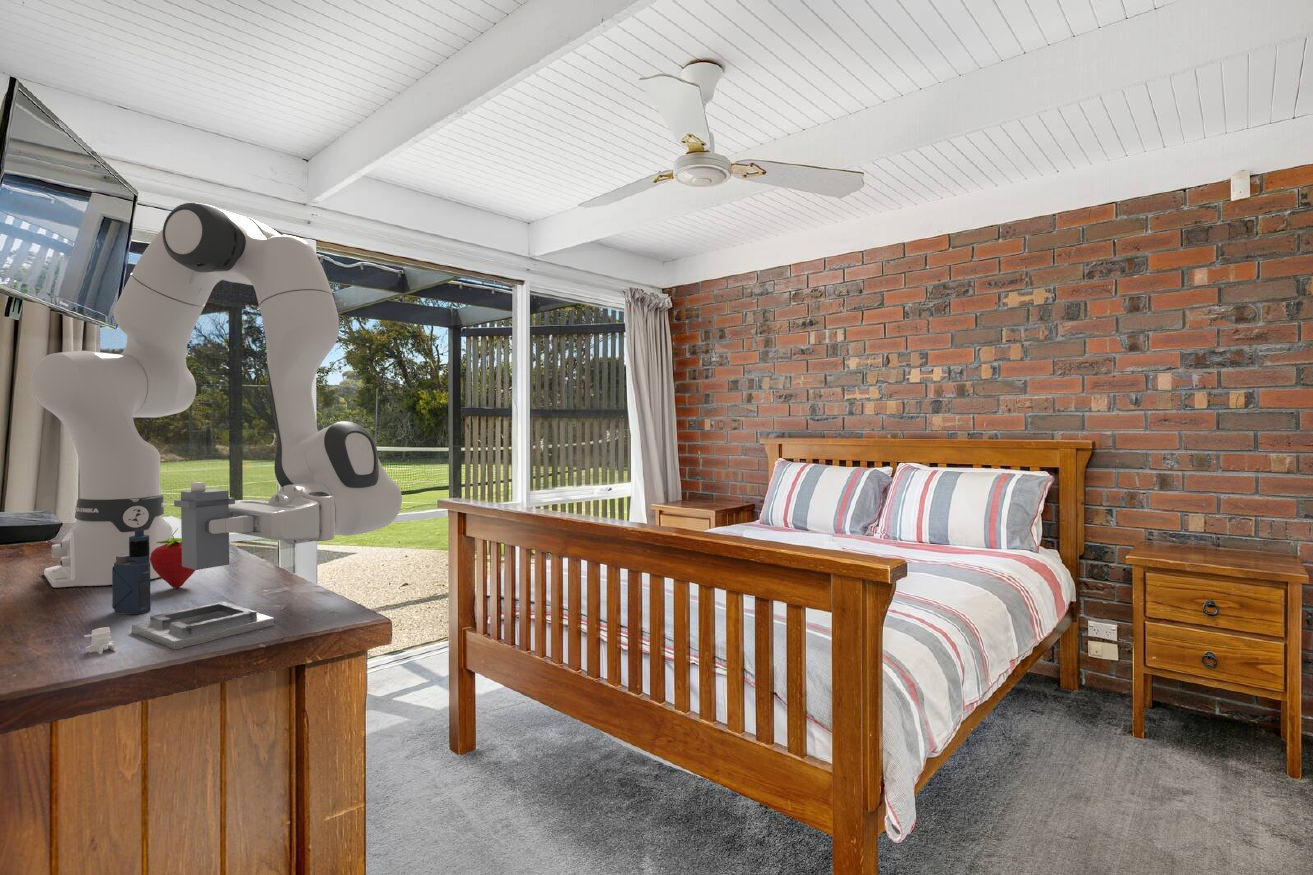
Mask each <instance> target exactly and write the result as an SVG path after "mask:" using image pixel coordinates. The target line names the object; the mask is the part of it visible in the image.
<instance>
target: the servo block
mask: <svg viewBox="0 0 1313 875" xmlns="http://www.w3.org/2000/svg"><path fill="white" fill-rule="evenodd" d="M235 500H236V498H235V497H229V490H227V489H218V488H206V481H193V482H190V490H181V491H180V499H174V500H173V507H177V508H180V516H181V517H180V520H181V521H180V526H181V531H180V532H181V534H180V536H181V539H182V567H186V568H190V569H194V570H195V571H198V570H204V569H211V568H217V567H222V566H228V565H230V533H226V532H225V533H217V534H212V533H208V532H206V530H205V528H206V525H205V522H206V521H207V520H208V519H217V518H222V519H223V518H229V505H230V504H235Z"/></svg>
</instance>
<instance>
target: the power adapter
mask: <svg viewBox="0 0 1313 875" xmlns="http://www.w3.org/2000/svg"><path fill="white" fill-rule="evenodd" d="M111 632H112V631H111V630H110V626H108V627H100V628H96V629H91V634H85V635H83V638H91V644H90V645H89V646H87V647H85V649H86V650H87V651H88V653H90V654H91V653H98V654H99V655H102V654H103V650H104V647H107V649H108V650H109V649H110V651H113V652H114V653H116V652H117V648H116V640H111V638H112V636H111Z"/></svg>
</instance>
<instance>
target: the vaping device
mask: <svg viewBox="0 0 1313 875" xmlns="http://www.w3.org/2000/svg"><path fill="white" fill-rule="evenodd" d="M111 586H112V590H111V591H112V592H111V594H112V596H111V597H112V600H111V601H112V602H111V604H112V606H111V607H112V609H113V610H114V613H115V614H123V615H139V614H144V613H147V612H150V611H151V579H150V541H149V535H144V529H137V530H135V536H130V537H129V554H124V555H118V556H116V562H115V563H114V567H113V568H112V585H111Z"/></svg>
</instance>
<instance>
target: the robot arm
mask: <svg viewBox="0 0 1313 875" xmlns="http://www.w3.org/2000/svg"><path fill="white" fill-rule="evenodd" d="M221 281H226V282H230V283H237V284H244V285H247V286H251V287H253V288H254V291H255V295H256V299H257V303H258V307H259V310H260V315H261V319H262V324H263V330H264V335H265V343H266V345H265V347H266V376H267V385H268V390H269V392H268V393H269V397H270V403H271V405H270V406H271V409H272V416H273V422H274V427H275V429H274V430H275V434H276V453H275V458H274V459H275V460H274V467H273V468H274V469H273V470H274V475H275V478H276V481H277V483H278V484H279V486H280V487H281V488H280V489H279V490H278V491H277V493H276V494H274V495H272V496H271V497H270V498H269V499H268V500H261V499H241V500H240V499H238V500H237V499H235V504H230V505H229V518H223V519H222V518H217V519H208V520H207V521H206V522H205V525H206V528H205V530H206V532H208V533H212V534H217V533H225V532H226V533H229V534H230V533H235V534H241V535H246V536H252V537H257V538H262V539H267V540H268V539H269V540H273V541H274V540H275V541H283V542H284V543H286V544H288V545H298V544H304V543H310V542H327V541H332V540H334V539H335V536H343V537H348V536H350V537H351V536H356V535H362V534H367V533H371V532H375V531H378V530H381V529H384V528H385V527H388V526H390V525H391V524H392V523H393V522H394V521H395V520H396V518H397V517H398V515H399V513H400V511H401V508H402V503H403V502H402V501H403V497H402V490H401V488H400V486H399V485H398V483H397V482H396V481H394V480H393V479H392V478H391V477H390V476H389V475H388V473H387V472H386V471H385V468H384V467H383V465H382V463H381V461H380V459H379V455H378V447H377V444H376V441H375V439H374V438H373V436H372V435H371V433H370V432H369V431H368V430H367V429H366V428H364V427H363V426H361V425H360V424H358V423H355V422H351V421H346V420H345V421H344V420H343V421H337V422H335V423H333V424H331V425H329V426H326V427H325V428H322V429H321V430H318V425H317V418H316V412H315V407H314V402H313V401H314V400H313V394H312V393H313V391H312V390H313V389H312V388H313V383H314V380H315V377H316V374H317V372H318V370H319V368H320V366H321V365H322V363H323V362H324V360H325V359H326V357H327V356H328V354H329V353H330V352H331V351H332V350H333V348H334V346H335V345H336V343H337V341H338V339H339V335H340V319H339V313H338V309H337V305H336V301H335V299H334V295H333V291H332V289H331V285H330V283H329V280H328V277H327V275H326V272H325V269H324V267H323V265H322V263H321V262H320V259H319V256H317V253H316V252H315V250H314V249H313V247H312V246H311V244H309V243H308V242H307V241H306V240H304V239H302V238H299V237H296V236H293V235H286V234H284V233H283V232H281V231H280V230H277V229H276V228H271V227H269V226H268V225H266V224H264V223H261V222H259V221H258V220H255V219H253V218H251V217H249V216H245V215H240V214H237V213H233V212H230V211H226V210H223V209H220V208H218V207H216V206H214V205H210V204H205V203H200V202H199V203H198V202H186V203H182V204H180V205H177V206H176V207H175V208H173V209H171V211H170V212H169V213H168V215H167V217H166V218H165V220H164V223H163V227H162V229H161V230H160V231H159V232H158V233H157V234H156V235H155V237H154V238H152V240H151V242H150V243H149V244H148V246H147V247H146V248H145V250H144V251H143V253H142V254H141V256H140V257H139V258H138V260H137V261H136V263H135V265H134V267H133V270H132V272H131V273H130V275H129V277H128V279H127V282H126V284H125V286H124V288H123V289H122V291H121V294H120V296H119V298H118V300H117V302H116V304H115V305H114V308H113V312H112V313H113V319H114V321H115V323H116V325H117V326H118V327H119V329H120V330H121V332H123V333H124V334H125V335H126V336H127V337H126V344H125V345H126V346H125V347H124V350H123V351H122V352H121V353H110V352H101V351H89V350H73V351H62V352H55V353H54V352H53V353H50V354H46V356H44V357H42V358H41V359H40V360H39V361H38V363H37V364H36V365H35V367H34V368H33V371H32V373H31V378H30V387H31V391H32V394H33V396H34V397H35V400H36V401H37V402H38V403H39V404H40V406H42V407H43V408H44V409H46V410H47V411H49V412H50V413H52V414H53V415H54V416H55V417H56V418H58V420H59V421H60V422H61V423H62V424H63V426H64V427H65V428H66V430H67V432H68V433H69V435H70V437H71V439H72V440H73V441H72V442H73V443H74V447H75V449H76V452H77V454H76V455H77V458H78V469H79V470H78V472H79V495H80V496H79V498H77V499H76V500H77V501H76V505H75V507H74V508H75V509H74V511H75V513H74V514H75V515H74V519H76V520H75V522H74V524H73V526H71V528H70V530H68V532H67V533H66V535H65V536H64V537H63V539H62V540H61V541H60V543H58V544H56V543H55V544H52V545H51V559H57V558H60V562H59V563H60V565H55V566H54V565H53V566H50V567H46V568H44V571H43V574H44V577H45V578H46V579H47V581H48V583H49V584H50V586H51V588H66V587H68V588H69V587H86V586H87V587H93V586H96V587H97V586H110V585H111V586H112V568H113V567H114V563H115V562H116V556H118V555H124V554H129V537H130V536H135V530H137V529H144V535H149V541H150V557H151V553H152V551H153V550H154V549H155V548H157V547H160V546H162V545H165V544H167V543H156V542H159V541H165V540H168V539H167V538H173V536H174V534H173V533H174V531H173V525H172V524H171V523H170V522H168V521H167V520H165V518H164V517H163V516H162V515H164V514H165V501H164V495H163V494H161V454H160V452H159V450H158V449H157V447H156V446H154V445H153V444H152V443H150V442H148V441H146V440H144V438H142V436H141V435H140V433H139V432H138V430H137V428H136V425H135V422H134V418H161V417H166V416H171V415H175V414H179V413H182V412H184V411H187V409H189V408H190V406H191V405H192V404H193V403H194V400H195V398H196V394H197V383H196V380H195V378H194V375H193V374H192V372H191V371H190V370H189V368H188V365H187V350H188V344H189V340H190V337H191V336H192V334H193V331H194V329H195V326H196V324H197V322H198V320H199V318H200V316H201V314H202V312H203V311H204V308H205V306H206V304H207V302H208V300H209V297H210V296H211V293H212V291H213V289H214V288H215V286H216V285H217V284H218V283H219V282H221ZM172 535H173V536H172ZM157 578H161V577H160V576H159V575H158V574H157V573H156V571H155V570H154V569H153V567H152V564H151V561H150V580H153V579H157Z"/></svg>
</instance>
